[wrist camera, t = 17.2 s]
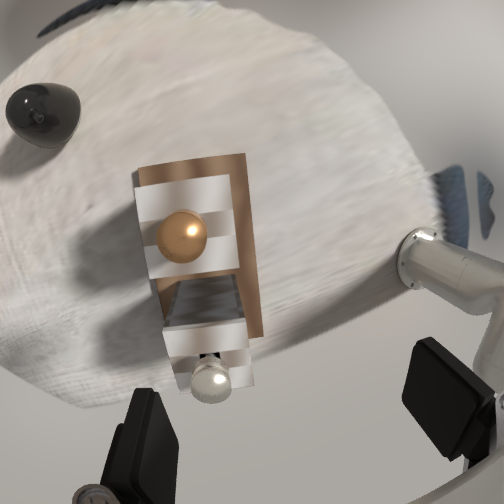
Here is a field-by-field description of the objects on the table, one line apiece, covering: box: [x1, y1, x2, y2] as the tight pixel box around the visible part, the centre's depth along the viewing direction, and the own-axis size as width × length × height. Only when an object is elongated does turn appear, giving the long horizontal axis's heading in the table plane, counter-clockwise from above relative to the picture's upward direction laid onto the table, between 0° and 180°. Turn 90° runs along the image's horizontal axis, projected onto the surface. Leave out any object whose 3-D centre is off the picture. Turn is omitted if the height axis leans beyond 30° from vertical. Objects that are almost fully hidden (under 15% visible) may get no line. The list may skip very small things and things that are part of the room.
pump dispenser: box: [5, 83, 81, 149], centre depth 30 cm, size 10×10×15 cm
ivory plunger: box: [191, 352, 231, 404], centre depth 36 cm, size 7×7×20 cm
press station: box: [134, 153, 264, 394], centre depth 37 cm, size 16×30×18 cm, turn 6°
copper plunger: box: [156, 209, 208, 264], centre depth 32 cm, size 7×7×20 cm
